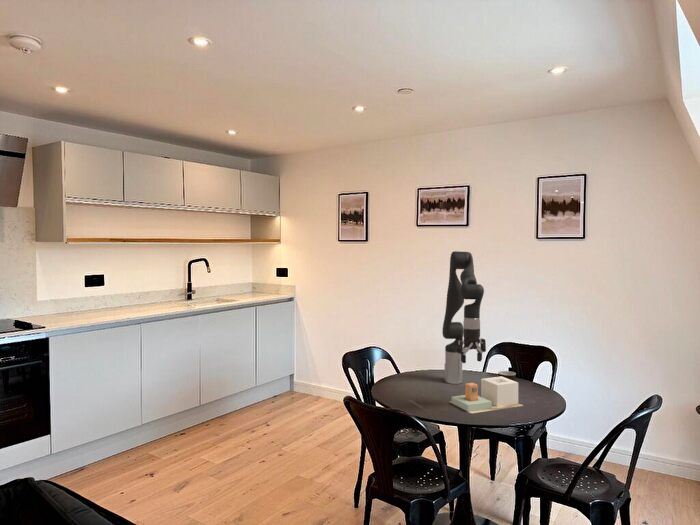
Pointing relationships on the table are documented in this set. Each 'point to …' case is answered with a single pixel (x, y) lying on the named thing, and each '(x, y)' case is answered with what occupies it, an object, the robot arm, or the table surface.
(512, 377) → the coffee mug
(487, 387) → the white socket block
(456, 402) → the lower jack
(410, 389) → the table surface
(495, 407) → the jack board
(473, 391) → the plug
